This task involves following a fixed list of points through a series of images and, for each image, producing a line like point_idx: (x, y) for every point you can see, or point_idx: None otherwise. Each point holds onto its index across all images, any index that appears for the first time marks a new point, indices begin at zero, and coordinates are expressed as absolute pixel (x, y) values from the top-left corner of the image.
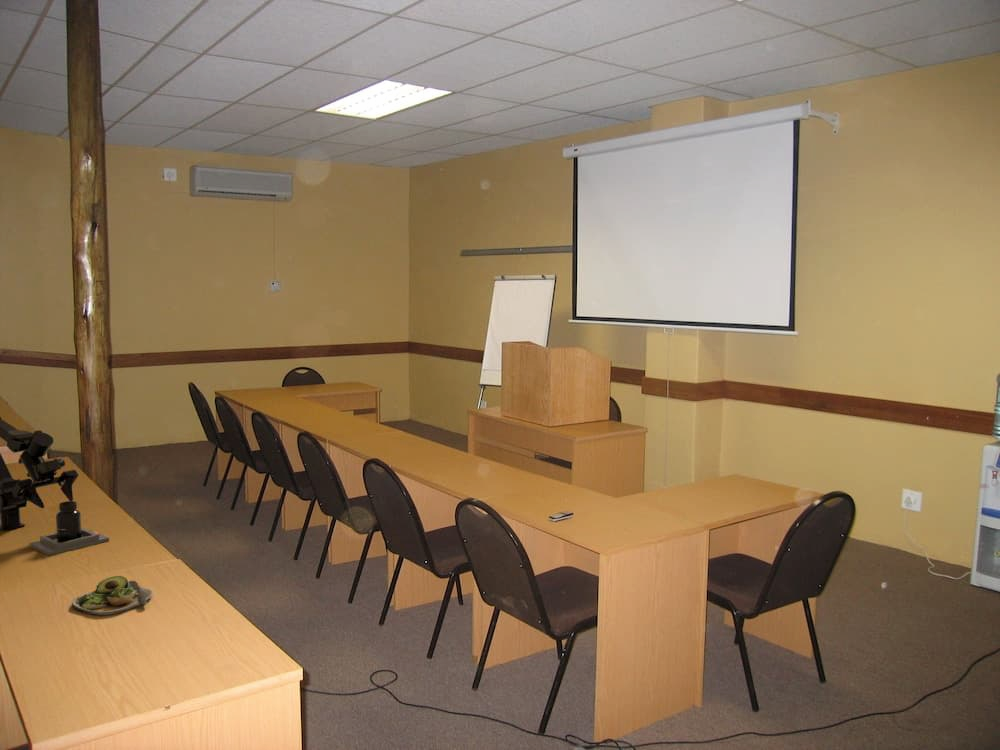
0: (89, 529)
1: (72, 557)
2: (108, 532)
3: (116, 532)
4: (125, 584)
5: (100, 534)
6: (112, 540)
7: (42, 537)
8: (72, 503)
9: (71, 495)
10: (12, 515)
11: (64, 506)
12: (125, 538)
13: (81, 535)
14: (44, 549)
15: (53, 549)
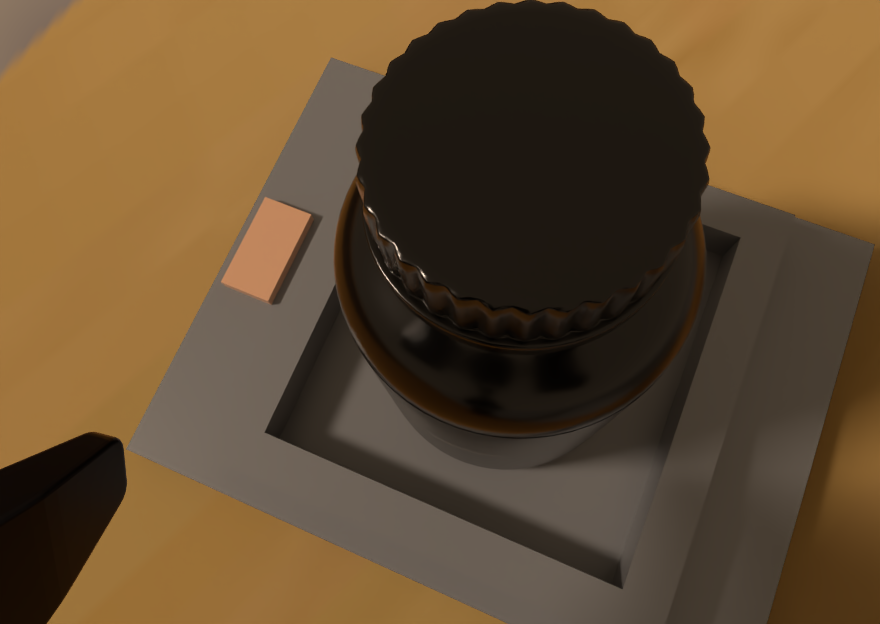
0: (136, 435)
1: (794, 40)
2: (117, 260)
3: (104, 190)
4: None
5: (264, 199)
6: (320, 61)
7: (671, 592)
8: (512, 45)
9: (15, 481)
10: None
11: (686, 99)
12: (246, 3)
13: (338, 354)
14: (829, 357)
15: (788, 272)
